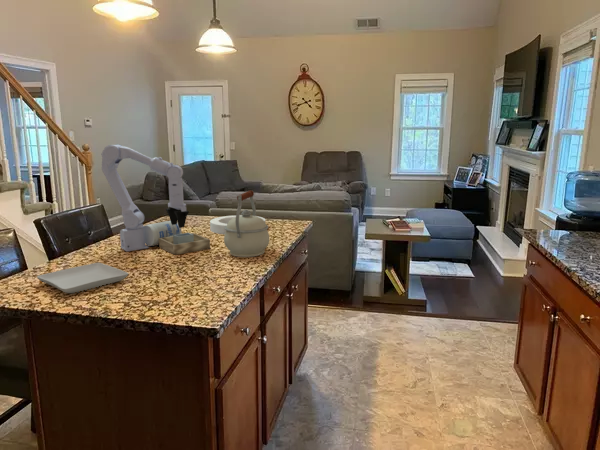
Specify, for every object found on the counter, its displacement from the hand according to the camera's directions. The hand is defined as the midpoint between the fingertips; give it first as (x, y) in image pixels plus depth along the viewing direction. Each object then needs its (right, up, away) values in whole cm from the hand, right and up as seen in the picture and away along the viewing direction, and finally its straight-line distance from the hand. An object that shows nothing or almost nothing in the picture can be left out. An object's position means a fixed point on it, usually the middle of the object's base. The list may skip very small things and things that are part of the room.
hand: (177, 225), depth 190 cm
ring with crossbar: (+20, -2, +38) cm, 44 cm away
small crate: (+3, -9, 0) cm, 9 cm away
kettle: (+31, -11, -6) cm, 33 cm away
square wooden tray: (+3, -9, 0) cm, 10 cm away
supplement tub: (-4, -2, +13) cm, 14 cm away
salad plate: (-19, -19, -43) cm, 51 cm away
